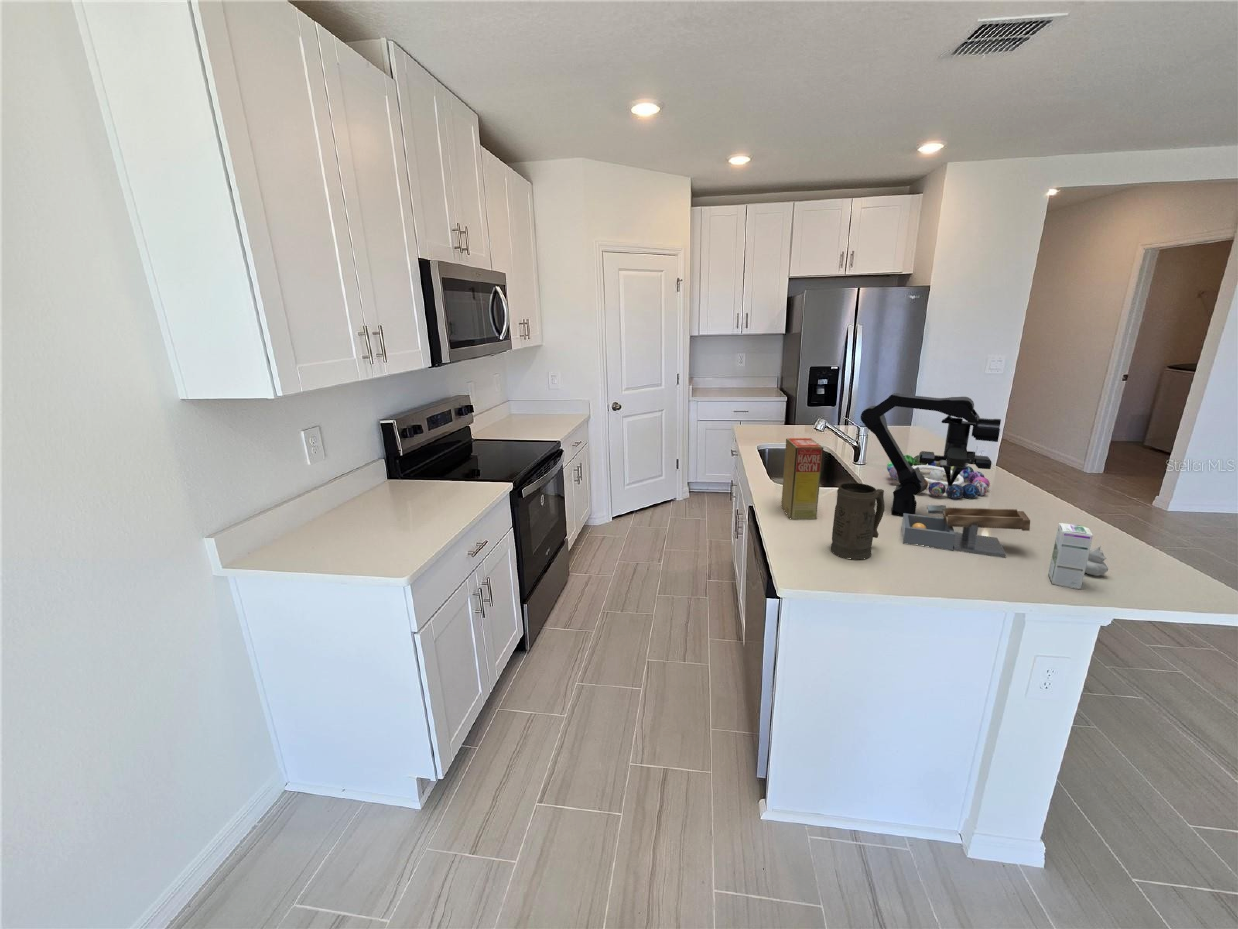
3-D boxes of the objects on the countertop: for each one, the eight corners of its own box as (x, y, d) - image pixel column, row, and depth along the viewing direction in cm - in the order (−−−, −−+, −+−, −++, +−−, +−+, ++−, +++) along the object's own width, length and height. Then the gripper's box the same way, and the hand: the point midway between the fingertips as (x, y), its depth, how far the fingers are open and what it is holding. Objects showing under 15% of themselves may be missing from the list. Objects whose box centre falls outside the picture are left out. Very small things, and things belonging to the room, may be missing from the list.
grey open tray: (903, 543, 149) (905, 527, 148) (901, 527, 160) (903, 513, 158) (952, 550, 144) (955, 534, 142) (947, 534, 154) (949, 518, 153)
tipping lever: (931, 526, 147) (931, 515, 146) (927, 508, 161) (927, 497, 160) (1029, 530, 136) (1030, 518, 136) (1015, 510, 150) (1016, 499, 149)
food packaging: (818, 519, 168) (824, 447, 161) (789, 519, 168) (794, 447, 162) (806, 505, 181) (811, 437, 174) (779, 505, 181) (784, 437, 174)
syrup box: (1081, 590, 122) (1095, 534, 118) (1050, 584, 125) (1062, 530, 121) (1076, 579, 126) (1090, 526, 122) (1046, 574, 129) (1058, 521, 125)
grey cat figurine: (1103, 581, 125) (1111, 552, 123) (1068, 571, 130) (1075, 543, 128) (1108, 574, 128) (1115, 545, 126) (1074, 565, 134) (1081, 537, 131)
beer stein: (851, 564, 137) (863, 494, 132) (820, 549, 147) (829, 483, 142) (888, 554, 144) (900, 488, 139) (855, 541, 154) (866, 478, 149)
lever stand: (953, 550, 144) (958, 524, 141) (948, 534, 154) (952, 509, 152) (1005, 557, 138) (1010, 531, 136) (996, 540, 149) (1001, 515, 147)
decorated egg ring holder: (987, 519, 176) (995, 497, 173) (879, 495, 192) (884, 474, 189) (981, 485, 204) (988, 464, 201) (887, 466, 220) (892, 447, 217)
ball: (920, 523, 149) (930, 533, 149) (919, 518, 153) (929, 528, 152) (908, 530, 151) (917, 540, 151) (907, 525, 155) (917, 535, 154)
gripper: (923, 441, 154) (916, 489, 158) (998, 446, 145) (989, 497, 150) (922, 433, 163) (915, 479, 167) (992, 438, 155) (983, 486, 159)
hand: (949, 485), depth 161 cm, fingers closed
